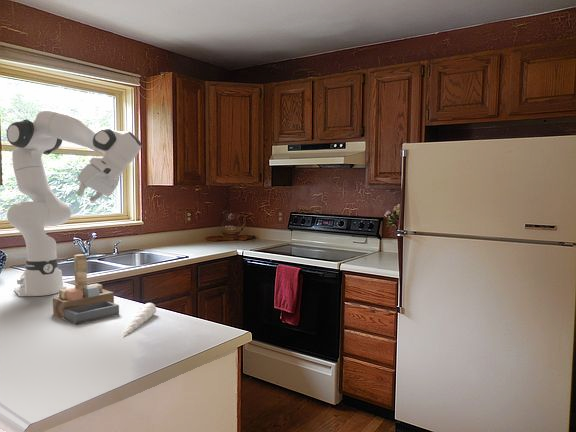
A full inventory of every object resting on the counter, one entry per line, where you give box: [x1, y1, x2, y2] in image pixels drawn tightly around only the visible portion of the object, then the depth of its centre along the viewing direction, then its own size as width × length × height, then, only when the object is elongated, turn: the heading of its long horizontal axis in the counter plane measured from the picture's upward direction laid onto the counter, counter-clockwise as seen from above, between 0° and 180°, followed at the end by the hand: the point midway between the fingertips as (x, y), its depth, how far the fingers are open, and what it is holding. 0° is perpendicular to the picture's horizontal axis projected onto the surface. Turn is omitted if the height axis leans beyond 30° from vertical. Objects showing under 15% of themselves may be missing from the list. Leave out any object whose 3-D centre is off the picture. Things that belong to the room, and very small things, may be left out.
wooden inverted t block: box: [58, 253, 103, 299], centre depth 162 cm, size 4×14×14 cm, turn 140°
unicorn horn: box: [122, 302, 157, 338], centre depth 146 cm, size 5×24×5 cm, turn 175°
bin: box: [64, 301, 120, 326], centre depth 154 cm, size 9×15×4 cm, turn 140°
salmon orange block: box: [66, 288, 83, 301], centre depth 156 cm, size 4×4×3 cm
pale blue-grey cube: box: [83, 286, 99, 297], centre depth 160 cm, size 4×4×3 cm
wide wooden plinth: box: [52, 288, 115, 320], centre depth 161 cm, size 9×18×6 cm, turn 140°
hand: (85, 198), depth 167 cm, fingers open, 8 cm apart
